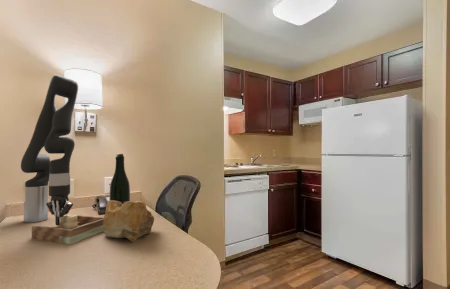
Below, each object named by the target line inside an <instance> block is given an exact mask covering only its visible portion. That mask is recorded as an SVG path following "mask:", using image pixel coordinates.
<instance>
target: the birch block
mask: <svg viewBox="0 0 450 289" xmlns="http://www.w3.org/2000/svg"><path fill="white" fill-rule="evenodd" d="M77 215H78V214H66V215H64V216H63V217H59V228H62V229H70V228H73V227H76V226H77Z"/></svg>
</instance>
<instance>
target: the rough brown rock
mask: <svg viewBox="0 0 450 289" xmlns="http://www.w3.org/2000/svg"><path fill="white" fill-rule="evenodd" d="M106 203H107V204H106V207H105V213H104V216H103V217H104V221H103V229H104V231H103V233H104V234H105V236H106V237H107V238H115V239H122V238H126V239H127V240H129V241H130V242H131V243H134V242H136V241H137V239H139V238H140V237H143V236H144V235H149V234H151V232H152V227H153V226H154V222H155V217H154V216H153V214H152V211H151V210H148V209H147V205H146V203H145V202H143V201H131V200H130V201H127V202H124V204H122V203H121V202H118V201H113V200H110V201H109V200H108V201H107V202H106Z"/></svg>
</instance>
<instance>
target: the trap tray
mask: <svg viewBox="0 0 450 289" xmlns="http://www.w3.org/2000/svg"><path fill="white" fill-rule="evenodd" d="M76 215H77V226H76V227H73V228H70V229H62V228H59V226H57V225H56V224H55V225H53V226H43V225H32V226H31V240H36V241H42V242H44V241H45V242H51V243H56V244H59V243H60V244H64V245H65V244H66V245H72V244H74V243H77V242H79V241H82V240H84V239H87V238H89V237H92V236H96V235H98V234H99V233H102V232H104V229H103V221H104V216H94V215H93V216H92V215H91V216H90V215H81V214H76Z"/></svg>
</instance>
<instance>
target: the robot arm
mask: <svg viewBox="0 0 450 289" xmlns="http://www.w3.org/2000/svg"><path fill="white" fill-rule="evenodd" d="M78 92H79V84H78V82H77V81H75V80H73V79H70V78H67V77H65V76H62V75H59V74H54V75H53V76H52V77H51V79H50V82H49V85H48V88H47V92H46V96H45V99H44V103H43V106H42V108H41V111H40V113H39V116H38V118H37V121H36V124H35V127H34V130H33V133H32V136H31V139H30V141H29V144H28V146H27V148H26V150H25V151H24V153H23V156H22V159H21V160H20V169H21V171H22V172H23V173H24V174H33V173H36V175H35V176H33V177H32V178H30V179H28V180H26V181H25V183H24V202H23V222H24V223H38V222H43V221H46V220H48V218H49V217H48V216H49V212H50V214H51V216H54V217H55V219H54V220H55V221H54V222H55V225H57V226H59V217H63V216H67V215H69V212H70V210H71V209H72V207H73V205H74V203H73V202H70V201H69V200H70V199H69V195H70V194H71V175H70V164H71V158H72V155H73V151H74V149H75V145H76V144H75V140H74V139H73V138H72V137H70V136H69V137H68V136H67V135H69V134H70V133H71V131H72V118H73V113H74V109H75V106H76V102H77V101H76V100H77V98H78ZM56 96H59V97H62V98H66V99H67V101H66V102H65V103H64V104H63V105H62V106H61V107H59V109H57V106H56V102H55V101H56ZM65 136H66V137H65ZM43 149H44V151H45V152H46V153H47V154H52V155H53V154H56V155H57V154H58V155H59V154H62V155H63V154H64V155H63V156H62V157H61V158H57V159H56V158H55V159H52V160H51V159H50V156H49V155H47V154H40V152H41V151H42V150H43ZM49 197H50V200H49Z"/></svg>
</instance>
